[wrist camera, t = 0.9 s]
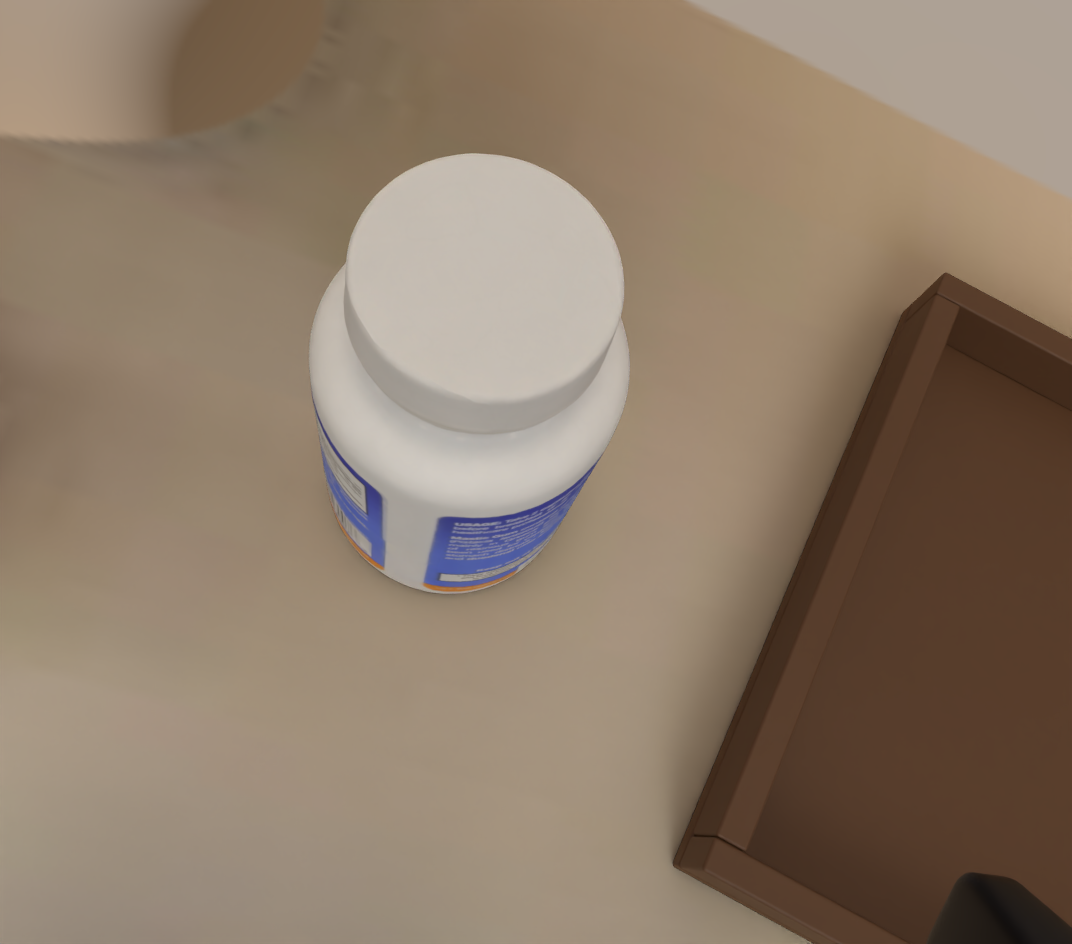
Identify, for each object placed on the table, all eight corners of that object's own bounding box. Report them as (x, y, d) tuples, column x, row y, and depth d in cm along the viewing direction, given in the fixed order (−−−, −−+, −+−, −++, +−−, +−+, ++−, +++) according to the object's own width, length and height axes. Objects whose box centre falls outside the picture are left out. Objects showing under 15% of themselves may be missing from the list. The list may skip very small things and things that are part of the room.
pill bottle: (591, 424, 24) (723, 185, 15) (518, 634, 22) (620, 505, 13) (379, 344, 24) (384, 54, 15) (287, 549, 22) (228, 358, 13)
